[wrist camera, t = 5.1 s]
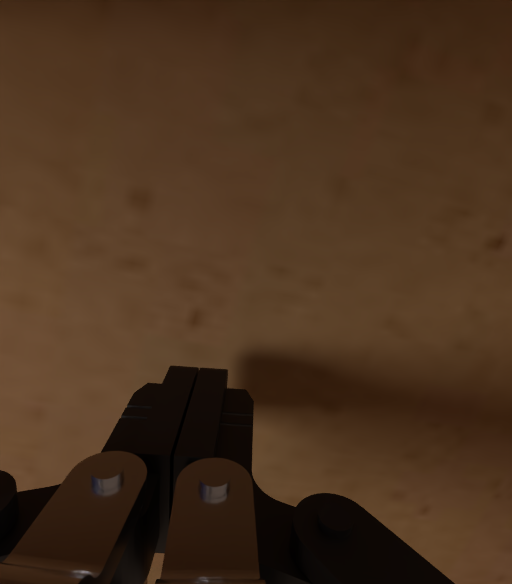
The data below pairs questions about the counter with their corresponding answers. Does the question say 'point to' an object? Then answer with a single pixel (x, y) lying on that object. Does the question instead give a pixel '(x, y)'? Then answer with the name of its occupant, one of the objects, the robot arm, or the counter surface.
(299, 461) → the counter surface
